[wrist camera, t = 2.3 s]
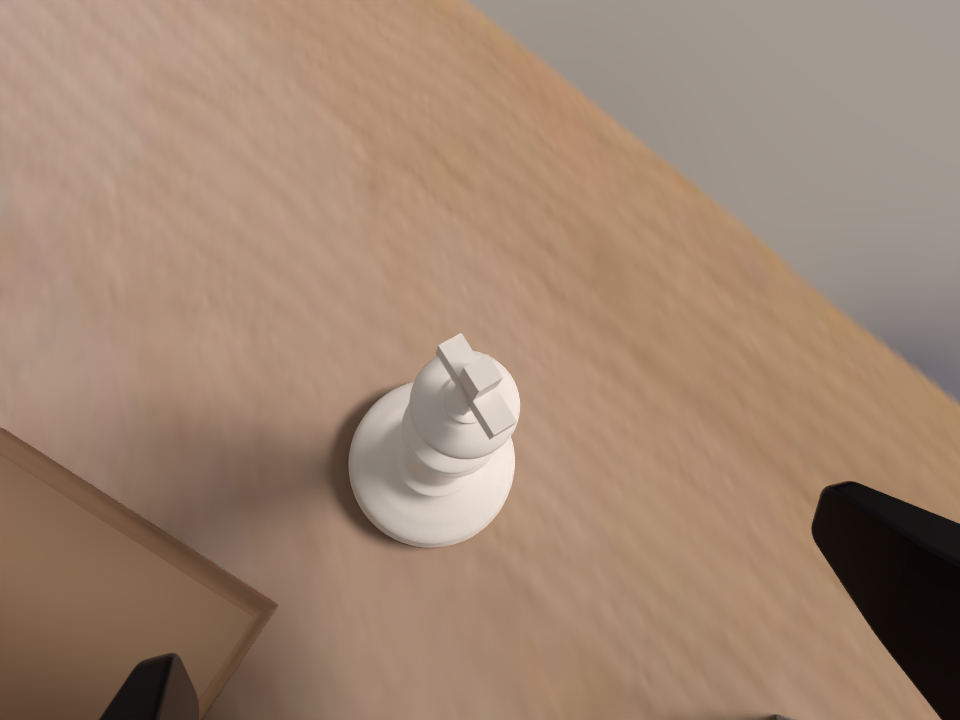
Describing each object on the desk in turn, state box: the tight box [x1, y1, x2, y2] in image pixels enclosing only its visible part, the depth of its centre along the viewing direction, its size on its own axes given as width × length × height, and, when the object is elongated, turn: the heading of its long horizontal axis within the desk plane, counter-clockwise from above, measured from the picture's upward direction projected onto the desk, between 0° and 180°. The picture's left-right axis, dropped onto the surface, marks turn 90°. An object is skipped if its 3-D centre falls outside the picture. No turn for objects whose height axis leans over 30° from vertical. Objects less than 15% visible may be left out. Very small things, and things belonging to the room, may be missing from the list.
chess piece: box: [348, 333, 520, 548], centre depth 14 cm, size 5×5×10 cm
